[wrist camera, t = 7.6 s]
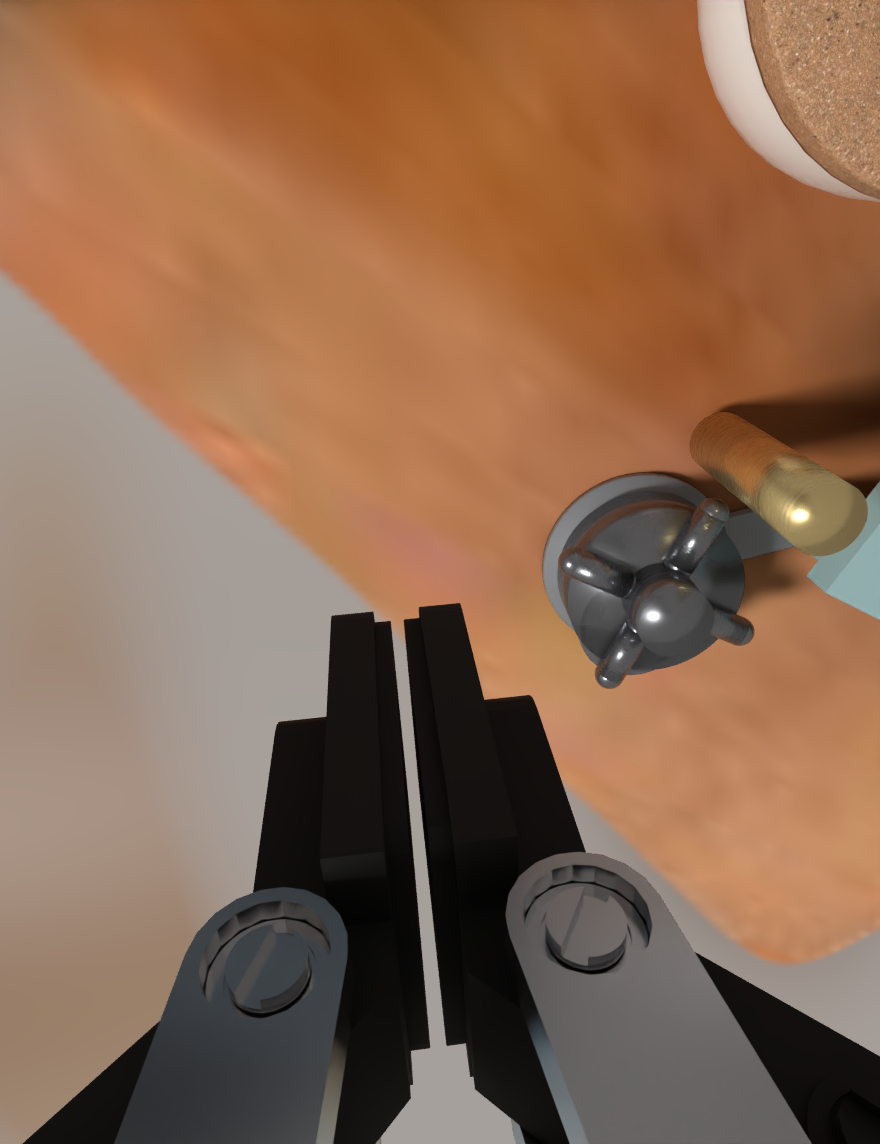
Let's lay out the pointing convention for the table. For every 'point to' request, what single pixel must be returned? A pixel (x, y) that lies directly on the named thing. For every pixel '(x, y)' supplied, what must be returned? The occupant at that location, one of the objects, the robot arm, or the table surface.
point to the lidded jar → (801, 85)
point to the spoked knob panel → (735, 541)
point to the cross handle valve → (693, 551)
